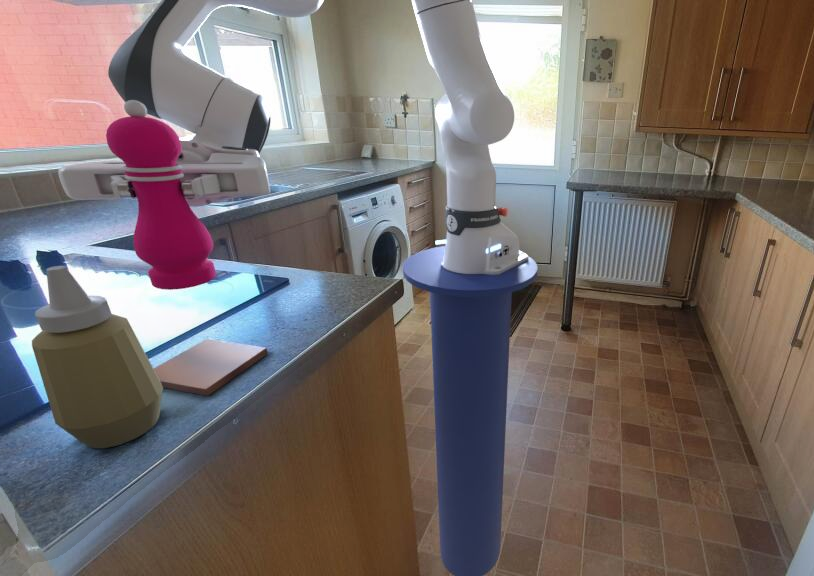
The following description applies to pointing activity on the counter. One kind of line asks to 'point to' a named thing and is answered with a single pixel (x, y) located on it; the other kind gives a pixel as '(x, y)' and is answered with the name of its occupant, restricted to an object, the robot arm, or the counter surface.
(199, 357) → the walnut cutting board
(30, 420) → the counter surface
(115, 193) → the robot arm
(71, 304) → the squeeze bottle
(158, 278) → the pepper mill
